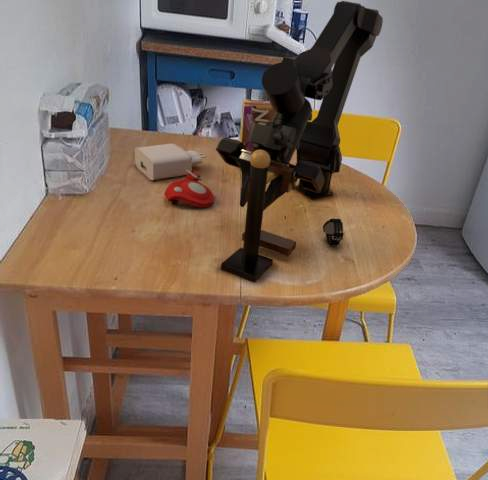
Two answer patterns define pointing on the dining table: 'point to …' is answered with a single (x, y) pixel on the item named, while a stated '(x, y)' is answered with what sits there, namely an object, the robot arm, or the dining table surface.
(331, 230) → the smartwatch
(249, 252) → the coat rack
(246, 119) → the candy box
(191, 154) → the charger
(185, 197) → the tracker holder
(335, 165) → the robot arm
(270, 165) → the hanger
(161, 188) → the dining table surface
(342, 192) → the dining table surface
